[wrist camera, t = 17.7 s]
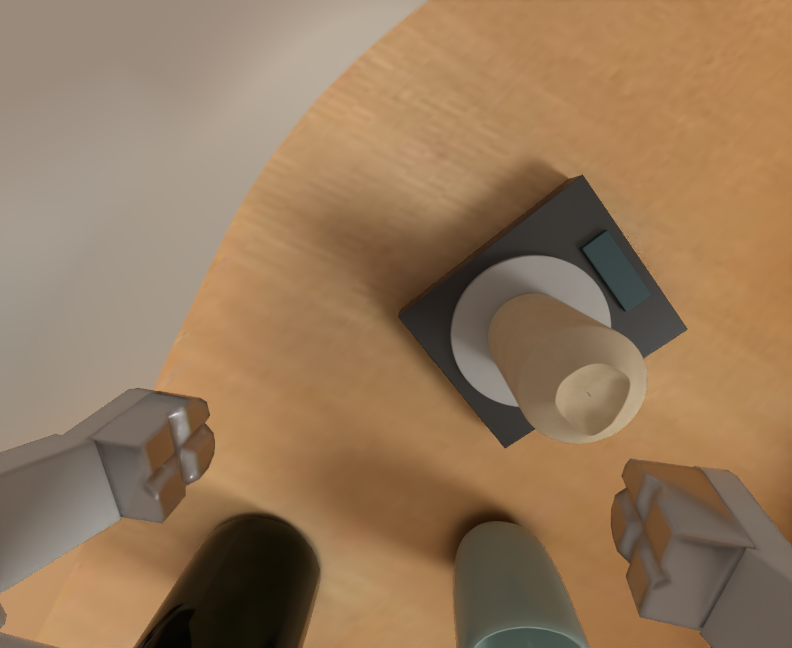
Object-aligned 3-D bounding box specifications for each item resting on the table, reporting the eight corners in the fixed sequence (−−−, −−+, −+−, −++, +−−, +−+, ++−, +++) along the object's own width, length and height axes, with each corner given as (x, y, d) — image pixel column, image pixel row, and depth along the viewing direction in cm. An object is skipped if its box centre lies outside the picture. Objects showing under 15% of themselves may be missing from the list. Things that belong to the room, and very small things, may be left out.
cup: (444, 580, 34) (453, 721, 25) (451, 500, 32) (465, 618, 23) (538, 589, 34) (586, 735, 24) (551, 508, 32) (609, 631, 22)
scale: (399, 310, 29) (397, 319, 26) (569, 178, 26) (586, 173, 24) (499, 433, 31) (507, 453, 28) (667, 321, 28) (694, 332, 25)
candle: (564, 381, 27) (647, 471, 17) (479, 369, 27) (513, 452, 17) (583, 298, 25) (685, 344, 16) (494, 286, 25) (541, 325, 16)
